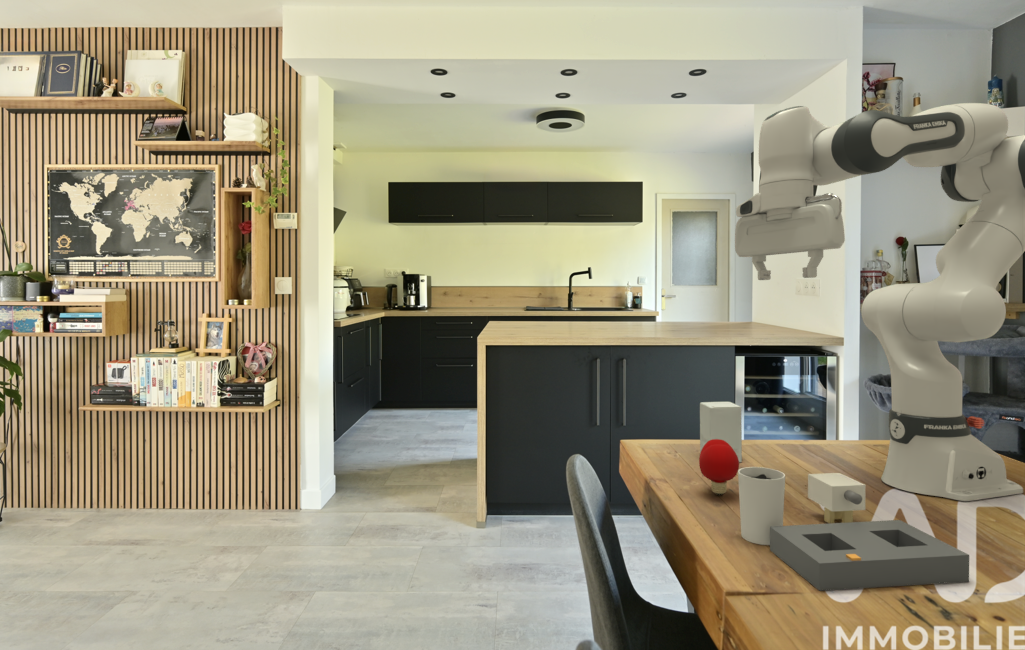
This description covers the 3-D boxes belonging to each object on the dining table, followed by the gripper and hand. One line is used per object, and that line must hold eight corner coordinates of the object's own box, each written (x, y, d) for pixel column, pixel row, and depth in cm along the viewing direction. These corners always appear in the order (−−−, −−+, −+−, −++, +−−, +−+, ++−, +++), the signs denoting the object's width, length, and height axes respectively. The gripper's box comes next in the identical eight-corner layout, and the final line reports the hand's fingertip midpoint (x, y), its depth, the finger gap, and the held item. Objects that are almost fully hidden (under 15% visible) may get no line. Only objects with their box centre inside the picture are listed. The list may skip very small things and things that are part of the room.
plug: (839, 513, 98) (839, 472, 98) (874, 533, 90) (874, 488, 90) (807, 515, 98) (808, 474, 98) (840, 535, 90) (840, 490, 89)
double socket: (899, 543, 86) (899, 517, 86) (969, 581, 74) (969, 552, 74) (769, 550, 85) (769, 524, 85) (819, 590, 73) (819, 561, 73)
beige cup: (732, 529, 93) (731, 467, 92) (774, 528, 93) (774, 466, 92) (747, 546, 86) (747, 479, 86) (793, 546, 86) (793, 479, 86)
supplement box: (742, 462, 130) (742, 406, 129) (709, 463, 130) (709, 407, 130) (730, 454, 137) (730, 400, 137) (699, 454, 137) (698, 401, 137)
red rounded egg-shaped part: (743, 504, 104) (743, 449, 103) (702, 502, 105) (702, 447, 105) (734, 487, 113) (734, 436, 112) (696, 486, 114) (696, 435, 114)
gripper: (853, 192, 96) (853, 276, 97) (752, 210, 114) (753, 281, 115) (828, 189, 93) (828, 276, 94) (729, 209, 111) (729, 281, 112)
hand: (786, 278), depth 104 cm, fingers open, 8 cm apart
